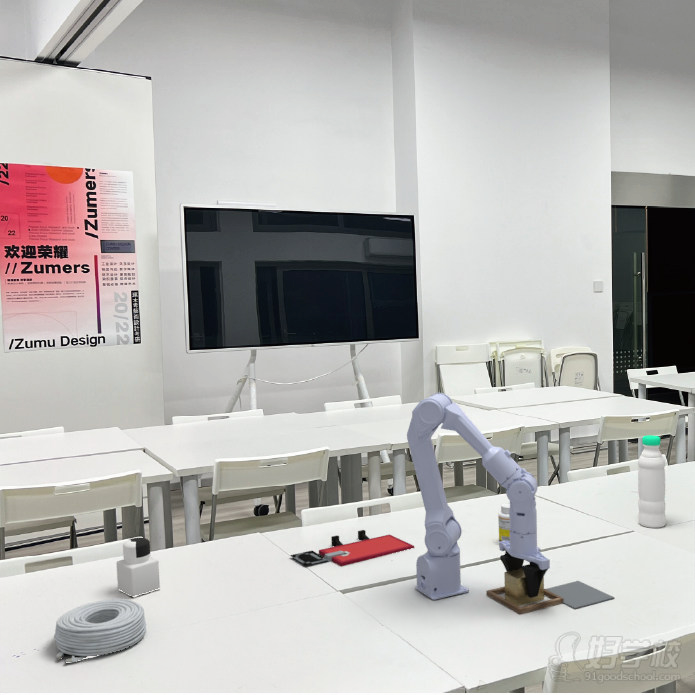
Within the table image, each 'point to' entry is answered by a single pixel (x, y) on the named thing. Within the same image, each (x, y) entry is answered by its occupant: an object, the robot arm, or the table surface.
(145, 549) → the medicine bottle
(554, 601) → the wooden frame
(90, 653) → the cable
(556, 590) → the mat
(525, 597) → the tan box
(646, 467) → the water bottle
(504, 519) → the supplement bottle
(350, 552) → the red board with handle
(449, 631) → the table surface
